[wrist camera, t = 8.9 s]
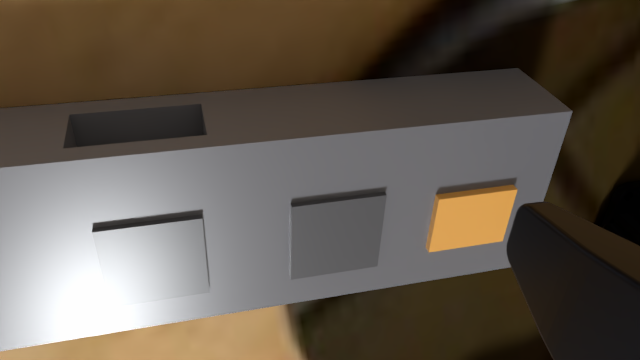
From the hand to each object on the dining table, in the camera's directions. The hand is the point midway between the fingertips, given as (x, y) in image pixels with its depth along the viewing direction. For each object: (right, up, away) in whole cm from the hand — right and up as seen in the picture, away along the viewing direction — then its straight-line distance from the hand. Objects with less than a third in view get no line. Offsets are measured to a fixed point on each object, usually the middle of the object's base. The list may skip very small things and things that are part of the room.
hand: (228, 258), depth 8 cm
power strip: (-3, +1, +13) cm, 14 cm away
